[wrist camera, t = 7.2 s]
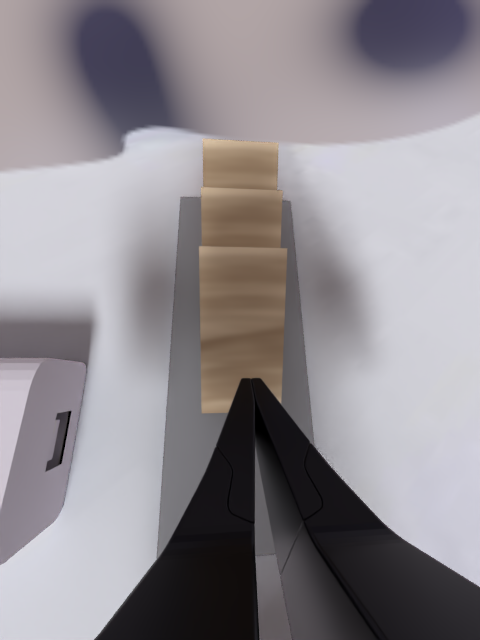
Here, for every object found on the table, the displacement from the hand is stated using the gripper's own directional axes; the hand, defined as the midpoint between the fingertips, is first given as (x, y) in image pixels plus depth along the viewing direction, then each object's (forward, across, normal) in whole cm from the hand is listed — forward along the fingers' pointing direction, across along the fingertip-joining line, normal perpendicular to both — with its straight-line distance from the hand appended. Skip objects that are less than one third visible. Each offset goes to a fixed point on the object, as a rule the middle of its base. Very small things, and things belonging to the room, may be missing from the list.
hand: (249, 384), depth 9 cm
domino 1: (+3, 0, +5) cm, 6 cm away
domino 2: (+6, 0, +2) cm, 6 cm away
